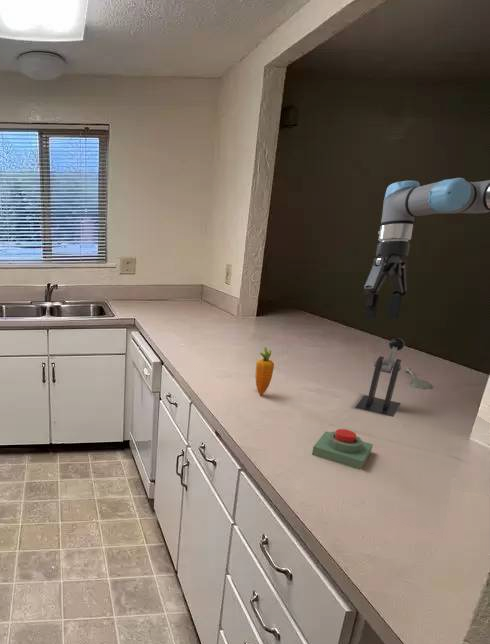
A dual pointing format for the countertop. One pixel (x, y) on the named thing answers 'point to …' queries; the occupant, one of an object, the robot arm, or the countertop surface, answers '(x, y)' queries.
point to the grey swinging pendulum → (392, 354)
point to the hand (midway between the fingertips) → (381, 318)
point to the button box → (342, 450)
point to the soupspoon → (417, 381)
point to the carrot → (264, 372)
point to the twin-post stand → (386, 405)
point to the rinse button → (345, 436)
